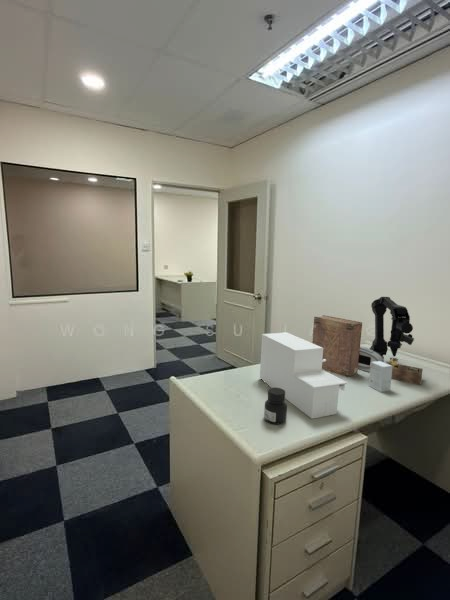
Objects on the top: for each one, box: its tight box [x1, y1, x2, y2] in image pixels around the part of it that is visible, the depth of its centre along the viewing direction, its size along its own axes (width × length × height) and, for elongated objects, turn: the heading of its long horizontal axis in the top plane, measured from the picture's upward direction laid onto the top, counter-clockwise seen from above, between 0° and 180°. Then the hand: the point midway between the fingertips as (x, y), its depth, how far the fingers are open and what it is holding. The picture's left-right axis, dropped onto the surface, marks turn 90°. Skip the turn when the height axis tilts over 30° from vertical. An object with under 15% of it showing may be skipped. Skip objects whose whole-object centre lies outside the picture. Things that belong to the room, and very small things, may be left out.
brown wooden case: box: [311, 315, 363, 378], centre depth 187 cm, size 25×9×30 cm, turn 40°
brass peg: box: [389, 357, 399, 368], centre depth 180 cm, size 4×4×6 cm
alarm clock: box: [358, 346, 385, 373], centre depth 191 cm, size 23×6×13 cm, turn 42°
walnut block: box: [385, 361, 424, 386], centre depth 177 cm, size 18×10×6 cm, turn 56°
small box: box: [368, 361, 393, 393], centre depth 162 cm, size 8×6×13 cm
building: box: [259, 331, 349, 419], centre depth 151 cm, size 45×18×25 cm, turn 22°
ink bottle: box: [263, 387, 288, 425], centre depth 128 cm, size 10×9×12 cm
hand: (394, 356), depth 179 cm, fingers closed
